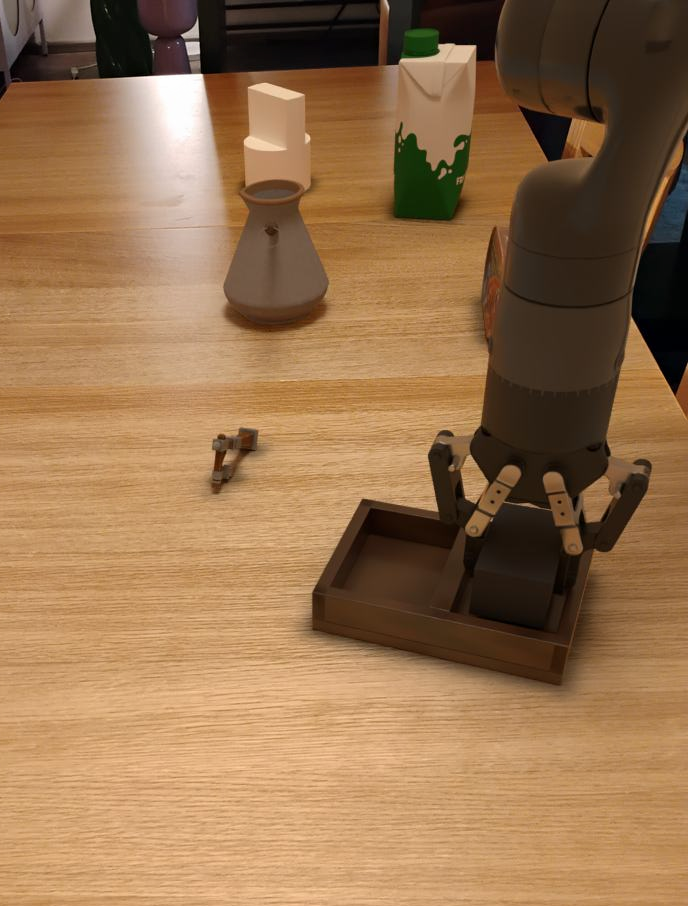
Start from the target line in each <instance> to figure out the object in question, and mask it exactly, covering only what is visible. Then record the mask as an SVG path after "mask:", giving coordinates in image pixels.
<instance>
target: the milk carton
mask: <svg viewBox="0 0 688 906" xmlns="http://www.w3.org/2000/svg"><path fill="white" fill-rule="evenodd" d="M439 39H440V31H439V30H437V29H433V28H414V29H410V30H407V31H405V32H404V33H403V47H402V49H403V50H402V52H401V56H400V58H399V61H398V71H397V88H396V89H397V91H396V108H395V110H396V111H395V130H394V131H395V132H394V150H393V153H394V154H393V155H394V156H393V199H394V201H393V203H394V218H402V219H421V220H422V219H423V220H425V219H426V220H443V221H451V220H452V218H453V215H454V213H455V211H456V210H457V209H456V208H457V206H458V204H459V201H460V199H461V194H462V192H463V188H464V184H465V180H466V176H467V173H468V168H469V163H470V162H469V161H470V153H471V152H470V150H471V140H472V132H473V131H472V129H473V121H474V108H475V99H476V78H477V76H476V75H477V72H476V71H477V45H474V44H472V45H471V44H468V45H464V44H463V45H461V44H459V45H456V44H455V43H444V44H443V43H439Z"/></svg>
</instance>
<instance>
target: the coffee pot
mask: <svg viewBox="0 0 688 906" xmlns="http://www.w3.org/2000/svg"><path fill="white" fill-rule="evenodd" d="M305 192H306V191H305V189H304V187H303V185H302V184H300V183H298V182H296V181H291V180H284V179H272V180H264V181H259V182H255V183H252V184H250V185H248V186H246V185H245V187H243V188H242V189H240V191H239V192H238V196H239V197H240V198H241V199H242V201H243V202H244V204H245V206H246V207H247V209H248V215H247V217H246V221H245V223H244V226H243V229H242V232H241V234H240V236H239V240H238V242H237V246H236V248H235V251H234V253H233V257H232V259H231V262H230V265H229V268H228V271H227V274H226V276H225V279H224V281H223V286H222V287H223V292H224V296H225V298H226V300H227V302H228V303H229V304H230V305H231V307H233V309H235V310H236V311H237V312H238V313H240V314H241V315H243V316H244V318H245V319H247V320H249V321H251V322H253V323H256V324H261V325H273V326H276V325H286V324H290V323H295V322H297V321H301V320H302V319H304V318H305V317H307V316H308V315H309V314H310V313H311V312H312V310H314V309H315V308H316V307H317V306H318V305H319V304H320V303H321V302H322V300H323V299H324V298H325V296H326V294H327V292H328V289H329V284H330V281H329V277H328V274H327V272H326V270H325V267H324V266H323V262H322V260H321V257H320V256H319V253H318V252H317V249H316V247H315V244H314V242H313V239H312V237H311V235H310V232H309V230H308V228H307V225H306V223H305V221H304V219H303V216H302V214H301V211H300V209H299V206H300V203H301V202H300V201H301V198H302V197H303V196H304V194H305Z"/></svg>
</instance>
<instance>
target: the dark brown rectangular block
mask: <svg viewBox="0 0 688 906" xmlns="http://www.w3.org/2000/svg"><path fill="white" fill-rule="evenodd" d="M491 521H492V526H491V529H490V531H489V534H488V537H487V539H486V542H485V543H484V544H483V546H482V549H481V552H480V554H479V557H478V560H477V563H476V565H475V568H474V574H473V582H472V590H471V598H470V606H469V614H473V615H478V616H483V617H488V618H493V619H498V620H502V621H507V622H512V623H517V624H522V625H527V626H531V627H536V628H541V629H543V628H544V624H545V621H546V617H547V614H548V610H549V606H550V603H551V599H552V596H553V588H554V583H555V578H556V573H557V568H558V563H559V558H560V557H559V553H560V549H561V546H562V540H561V536H560V532H559V529H558V528H556V526H555V522H554V518H553V514H552V510H549V509H543V508H539V507H535V506H534V507H533V506H528V505H522V504H514V503H508V502H503V504H502V505H501V507H500V508H499V510H498V512H497V513H496V515H495V516H494V517H493V518H492V519H491Z"/></svg>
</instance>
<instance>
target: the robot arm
mask: <svg viewBox="0 0 688 906" xmlns="http://www.w3.org/2000/svg"><path fill="white" fill-rule="evenodd" d="M494 40H495V42H494V64H495V65H494V66H495V70H496V75H497V79H498V82H499V84H500V86H501V88H502V90H503V92H504V94H505V95H506V96H507V97H508V98H509V99H510V100H511V101H512V102H513V103H514V104H516V105H518V106H520V107H522V108H525V109H528V110H530V111H534V112H539V113H543V114H550V115H555V116H560V117H565V118H568V119H569V118H570V119H575V120H580V121H583V122H584V121H585V122H590V123H595V124H600V125H605V126H604V135H603V140H602V143H601V145H600V148H599V149H598V151H597V153H596V155H595V156H586V157H569V158H563V159H557V160H551V161H548V162H544V163H542V164H539V165H537V166H535V167H534V168H532V169H530V170H529V171H528V172H527V173H526V174H524V175H523V177H522V178H521V180H520V181H519V183H518V185H517V187H516V190H515V192H514V195H513V198H512V199H513V200H512V205H511V209H510V216H509V224H508V225H509V226H508V228H509V234H508V241H507V249H506V257H505V266H504V274H503V280H502V286H501V291H500V295H499V298H498V302H497V305H496V309H495V313H494V319H493V326H492V333H491V335H490V337H489V339H488V342H487V343H488V345H487V352H488V360H487V368H486V369H487V370H486V378H485V384H484V385H485V386H484V394H483V400H482V401H483V402H482V411H481V419H480V425H479V427H478V428H477V429H476V430H475V431H474V433H473V435H472V434H471V435H458V436H455V434H454V433H453V432H452V431H451V430H448V429H442V430H439V432H438V433H437V434H436V437H435V438H434V440H433V442H432V444H431V445H430V449H429V451H428V453H427V460H428V465H429V470H430V476H431V481H432V486H433V491H434V496H435V502H436V506H437V512H439V517H440V520H441V522H442V523H444V524H446V525H453V524H457V525H459V526H460V527H462V528H463V529H464V530H465V532H466V541H465V549H464V558H463V564H464V567H465V569H468V570H471V578H473V574H474V568H475V565H476V563H477V560H478V557H479V554H480V552H481V549H482V546H483V544H484V543H485V542H486V539H487V537H488V534H489V531H490V529H491V526H492V520H493V517H494V516H495V515H496V513H497V512H498V510H499V508H500V507H501V505H502V504H503V502H504V503H510V504H516V505H522V504H523V505H524V504H530V505H532V506H534V507H536V508H540V509H546V510H552V514H553V518H554V522H555V526H556V528H558V529H559V532H560V536H561V540H562V546H561V549H560V553H559V557H560V558H559V563H558V568H557V573H556V578H555V583H554V588H553V593H554V594H559V595H562V593H563V590H564V588H568V589H572V588H573V586H574V585H575V584H576V580H577V576H578V572H579V568H580V563H581V559H582V554H583V553H584V552H585V551H587V550H591V549H594V550H596V551H597V552H599V553H603V554H605V553H609V552H611V551H612V550H613V549H614V548H615V545H616V544H617V543H618V540H619V539H620V537H621V535H622V534H623V532H624V531H625V529H626V527H627V526H628V523H629V522H630V520H631V519H632V518H633V515H634V514H635V512H636V510H637V509H638V507H639V505H640V504H641V502H642V500H643V499H644V497H645V496H646V494H647V492H648V490H649V484H650V481H651V480H650V479H651V475H652V471H653V464H652V462H650V460H649V459H646V458H638V459H635V460H634V461H633V462H632V463H631V462H629V461H626V460H623V459H621V458H618V457H616V456H613V455H612V452H611V448H610V446H609V444H608V440H607V436H608V431H609V425H610V421H611V417H612V412H613V407H614V403H615V399H616V394H617V390H618V384H619V380H620V375H621V371H622V366H623V364H624V361H625V357H626V348H627V343H628V338H629V333H630V327H631V321H632V309H633V308H632V306H633V294H634V287H635V283H636V278H637V273H638V269H639V264H640V259H641V254H642V251H643V250H642V249H643V245H644V241H645V234H646V229H647V224H648V221H649V218H650V215H651V211H652V209H653V206H654V204H655V201H656V199H657V196H658V194H659V192H660V190H661V187H662V186H663V183H664V181H665V179H666V176H667V174H668V172H669V169H670V167H671V165H672V163H673V160H674V158H675V156H676V154H677V152H678V149H679V147H680V145H681V144H682V141H683V139H684V137H685V136H686V134H687V132H688V0H505V1H504V4H503V6H502V9H501V12H500V15H499V19H498V23H497V30H496V34H495V39H494ZM468 456H471V458H472V459H473V461H474V462H475V464H476V465H477V467H478V469H479V470H480V472H481V473H482V474H483V476H484V478H485V479H486V480H487V483H486V484H485V486H484V489H483V490H482V492H481V494H480V495H479V497H478V499H477V500H476V501H475V502H473V501H471V500H470V499H466V494H465V488H464V483H463V476H462V470H461V469H463V467H464V465H465V462H466V460H467V458H468ZM603 476H604V477H605V478H607V480H608V482H609V483H608V484H609V485H608V490H607V491H608V492H609V495H611V496H612V498H611V501H610V502H609V504H608V505H607V507H606V509H605V511H604V512H603V514H602V516H601V517H600V519H599V520H598V521H588V520H587V514H586V511H585V505H584V493H583V492H584V491H585V490H586V489H588V488H589V487H591V486H592V485H593V484H595V483H596V482H597V481H598V480H600V479H601V478H602V477H603Z"/></svg>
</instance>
